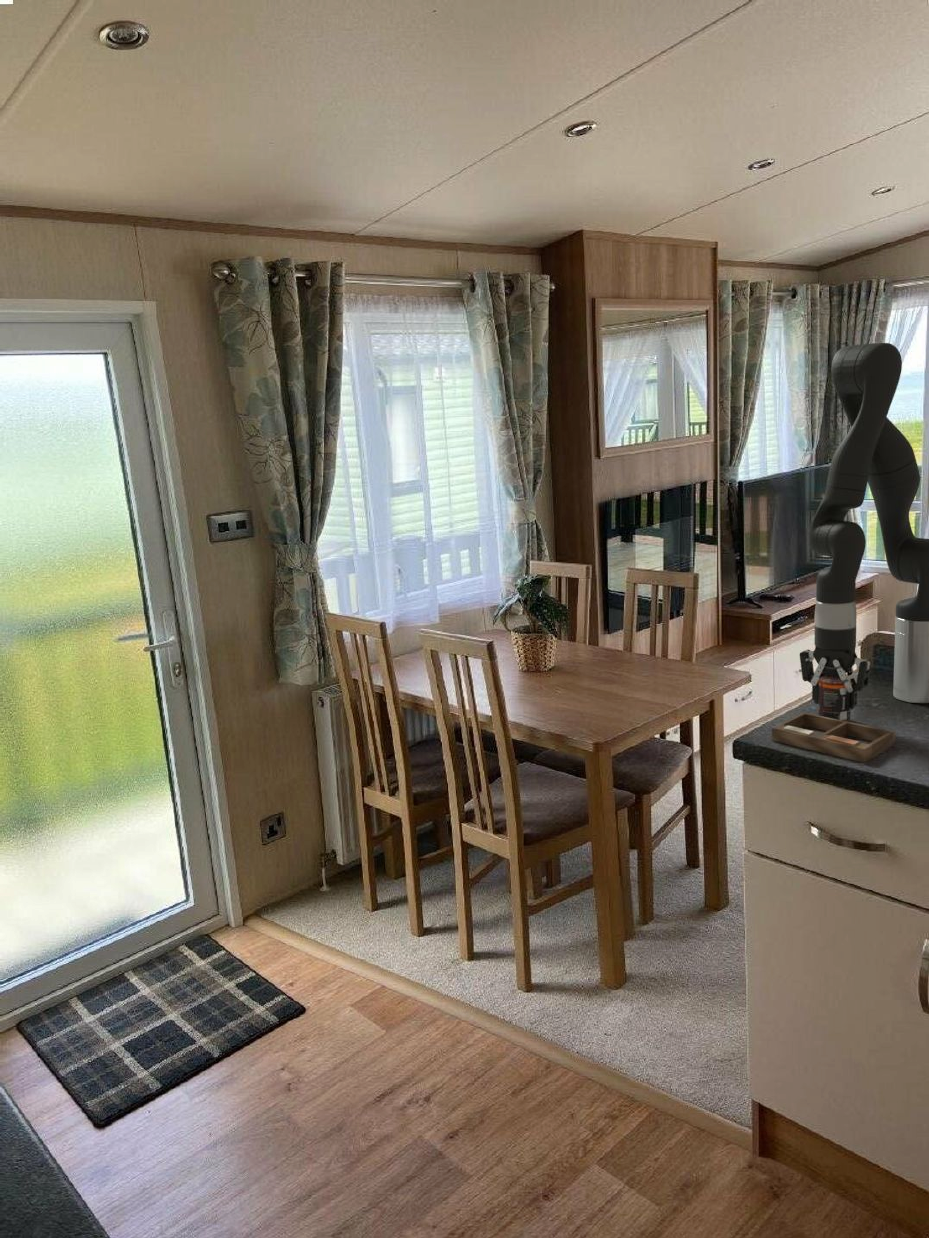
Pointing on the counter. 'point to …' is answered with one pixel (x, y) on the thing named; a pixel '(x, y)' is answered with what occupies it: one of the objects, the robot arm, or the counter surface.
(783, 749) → the counter surface
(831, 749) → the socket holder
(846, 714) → the supplement bottle
